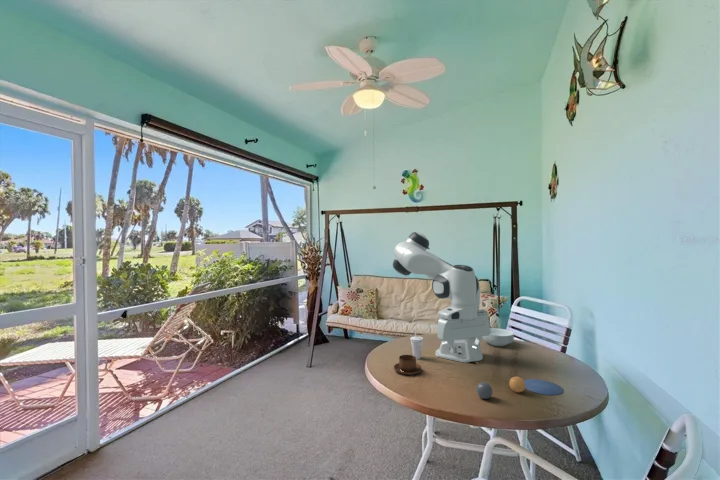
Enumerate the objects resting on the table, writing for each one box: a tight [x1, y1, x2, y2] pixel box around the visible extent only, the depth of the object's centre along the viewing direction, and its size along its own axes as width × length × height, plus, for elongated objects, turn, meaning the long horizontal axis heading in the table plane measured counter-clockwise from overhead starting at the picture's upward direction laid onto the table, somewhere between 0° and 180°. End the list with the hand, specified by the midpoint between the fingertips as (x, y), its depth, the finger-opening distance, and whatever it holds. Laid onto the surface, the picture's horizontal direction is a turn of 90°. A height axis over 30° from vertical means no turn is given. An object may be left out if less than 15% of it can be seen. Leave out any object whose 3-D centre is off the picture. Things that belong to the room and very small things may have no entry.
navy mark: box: [523, 378, 564, 396], centre depth 130 cm, size 14×14×1 cm
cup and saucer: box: [393, 354, 423, 375], centre depth 148 cm, size 12×12×6 cm
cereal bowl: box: [482, 327, 515, 347], centre depth 185 cm, size 17×17×7 cm
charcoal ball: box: [476, 381, 494, 400], centre depth 122 cm, size 6×6×6 cm
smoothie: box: [410, 328, 424, 360], centre depth 164 cm, size 6×6×14 cm
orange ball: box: [509, 376, 526, 393], centre depth 126 cm, size 6×6×6 cm
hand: (464, 350), depth 118 cm, fingers open, 8 cm apart
